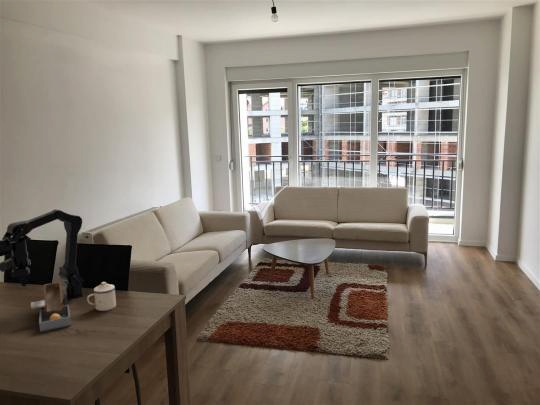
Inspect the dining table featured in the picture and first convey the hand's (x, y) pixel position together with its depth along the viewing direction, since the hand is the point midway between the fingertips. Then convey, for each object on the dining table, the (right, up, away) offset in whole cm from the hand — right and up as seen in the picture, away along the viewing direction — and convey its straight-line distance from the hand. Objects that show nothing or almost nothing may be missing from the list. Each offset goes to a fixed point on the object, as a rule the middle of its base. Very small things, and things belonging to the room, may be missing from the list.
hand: (24, 286), depth 186 cm
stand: (+13, -12, +1) cm, 18 cm away
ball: (+19, -11, -11) cm, 25 cm away
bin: (+19, -13, -9) cm, 25 cm away
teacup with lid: (+33, -11, +4) cm, 35 cm away
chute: (+11, -8, 0) cm, 14 cm away
